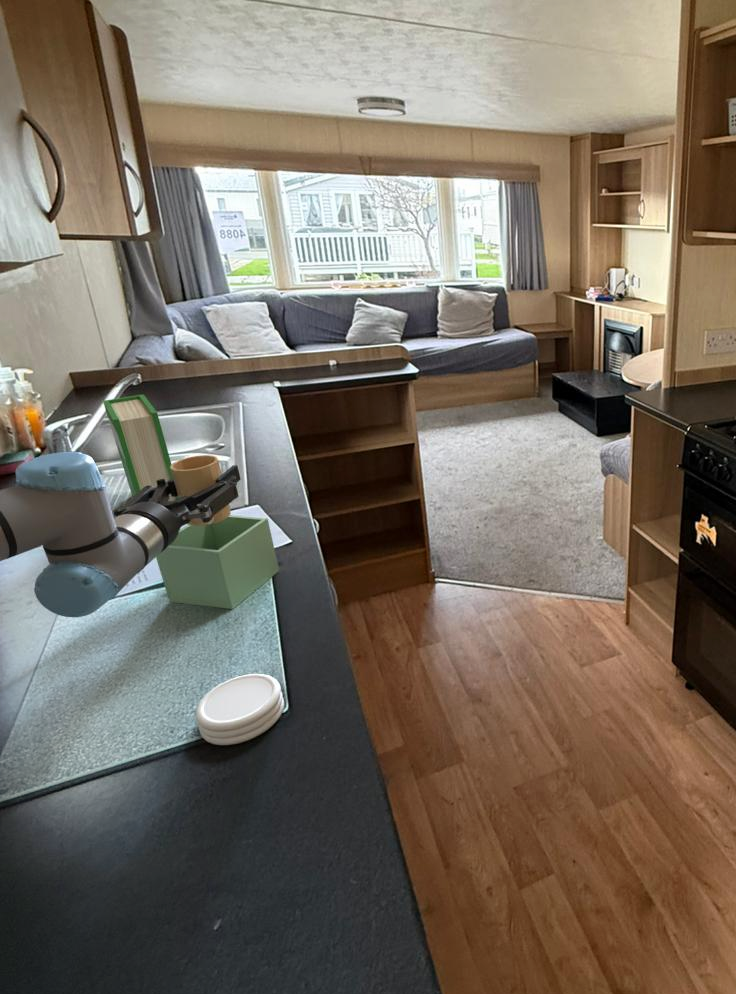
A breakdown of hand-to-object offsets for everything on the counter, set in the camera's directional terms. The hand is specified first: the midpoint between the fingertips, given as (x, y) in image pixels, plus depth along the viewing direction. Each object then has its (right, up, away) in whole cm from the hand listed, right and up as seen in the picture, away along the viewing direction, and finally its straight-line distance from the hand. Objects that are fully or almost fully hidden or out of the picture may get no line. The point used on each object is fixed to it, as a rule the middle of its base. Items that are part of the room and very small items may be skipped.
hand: (214, 473), depth 113 cm
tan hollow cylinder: (0, -7, -2) cm, 8 cm away
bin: (0, -20, +3) cm, 21 cm away
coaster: (+20, -33, -27) cm, 47 cm away
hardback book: (-31, -9, +32) cm, 46 cm away
